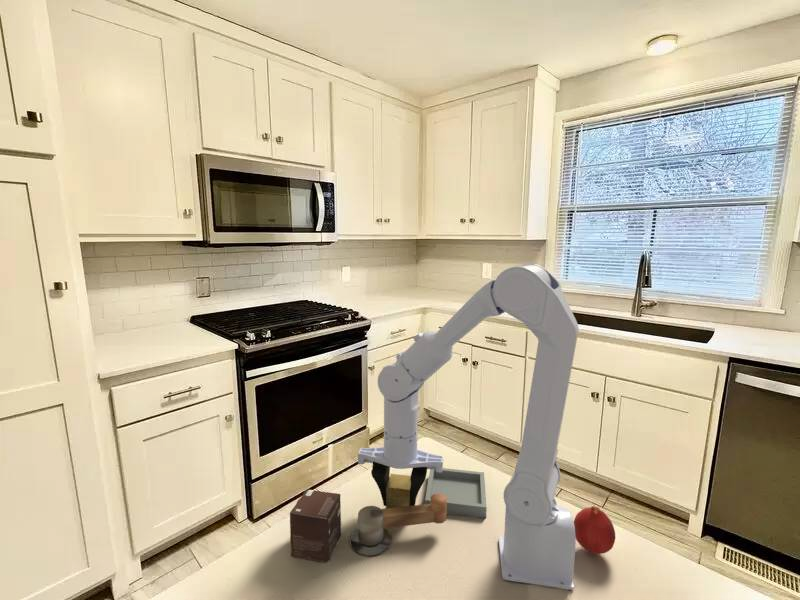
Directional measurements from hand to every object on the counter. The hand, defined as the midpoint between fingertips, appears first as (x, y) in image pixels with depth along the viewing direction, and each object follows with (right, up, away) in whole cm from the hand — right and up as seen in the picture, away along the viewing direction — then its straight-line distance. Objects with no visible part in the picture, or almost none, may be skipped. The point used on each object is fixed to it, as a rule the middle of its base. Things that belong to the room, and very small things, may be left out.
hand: (399, 503), depth 69 cm
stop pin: (0, -2, 0) cm, 2 cm away
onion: (+30, -4, -8) cm, 31 cm away
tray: (+11, -1, +5) cm, 12 cm away
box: (-13, -3, -7) cm, 15 cm away
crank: (0, -2, -5) cm, 6 cm away
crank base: (-5, -3, -6) cm, 8 cm away
